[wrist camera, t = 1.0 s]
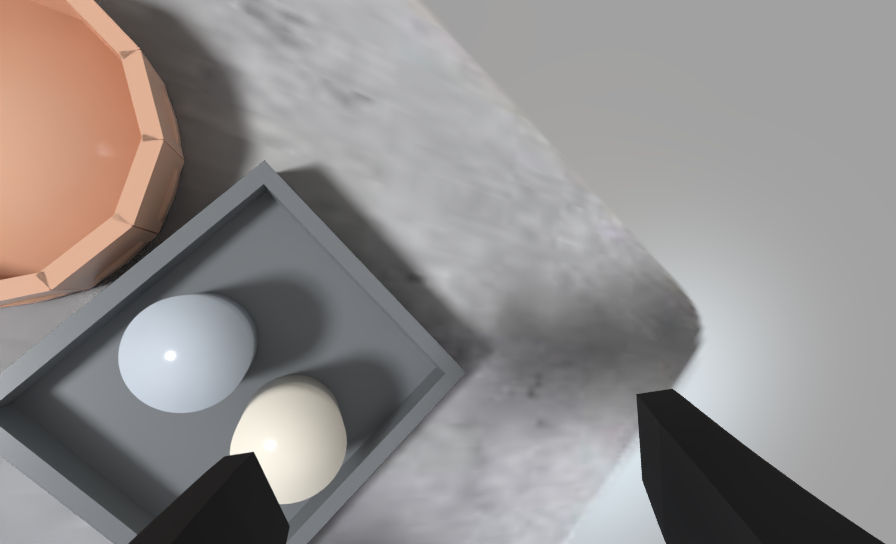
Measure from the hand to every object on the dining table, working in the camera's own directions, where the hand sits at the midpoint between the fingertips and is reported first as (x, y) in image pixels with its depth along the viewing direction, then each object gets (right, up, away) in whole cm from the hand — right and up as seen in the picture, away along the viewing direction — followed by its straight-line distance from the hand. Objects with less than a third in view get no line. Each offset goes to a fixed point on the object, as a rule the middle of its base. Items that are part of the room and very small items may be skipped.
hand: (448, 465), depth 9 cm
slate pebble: (-9, +1, +8) cm, 12 cm away
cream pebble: (-6, -2, +9) cm, 11 cm away
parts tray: (-8, -1, +10) cm, 12 cm away
